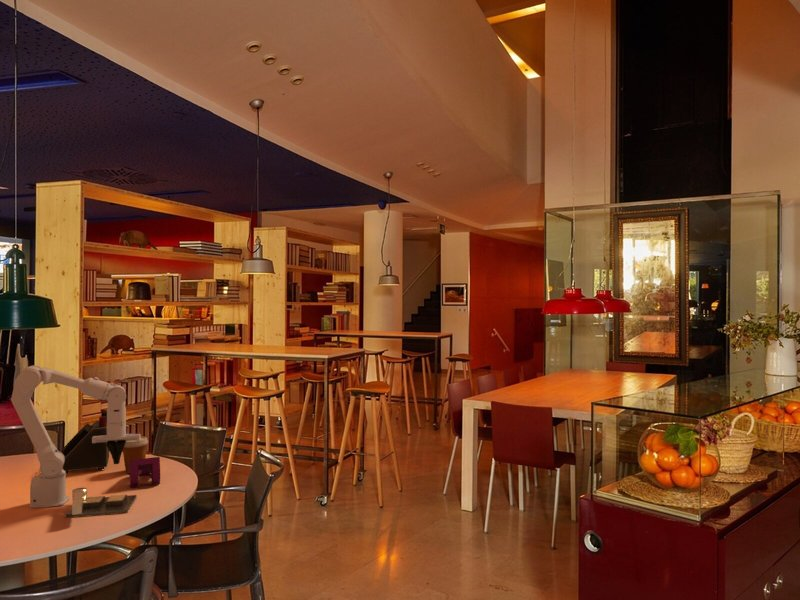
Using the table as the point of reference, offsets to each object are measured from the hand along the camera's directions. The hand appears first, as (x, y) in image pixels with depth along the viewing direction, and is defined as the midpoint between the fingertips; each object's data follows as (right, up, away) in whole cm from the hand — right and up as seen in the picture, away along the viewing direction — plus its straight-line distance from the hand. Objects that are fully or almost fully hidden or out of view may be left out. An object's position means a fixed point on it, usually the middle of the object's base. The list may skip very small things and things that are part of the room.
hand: (116, 463), depth 201 cm
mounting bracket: (+2, -11, +16) cm, 20 cm away
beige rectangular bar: (-2, -7, -19) cm, 21 cm away
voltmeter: (-28, -11, +34) cm, 45 cm away
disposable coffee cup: (-6, -11, +28) cm, 31 cm away
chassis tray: (+1, -10, -12) cm, 16 cm away
